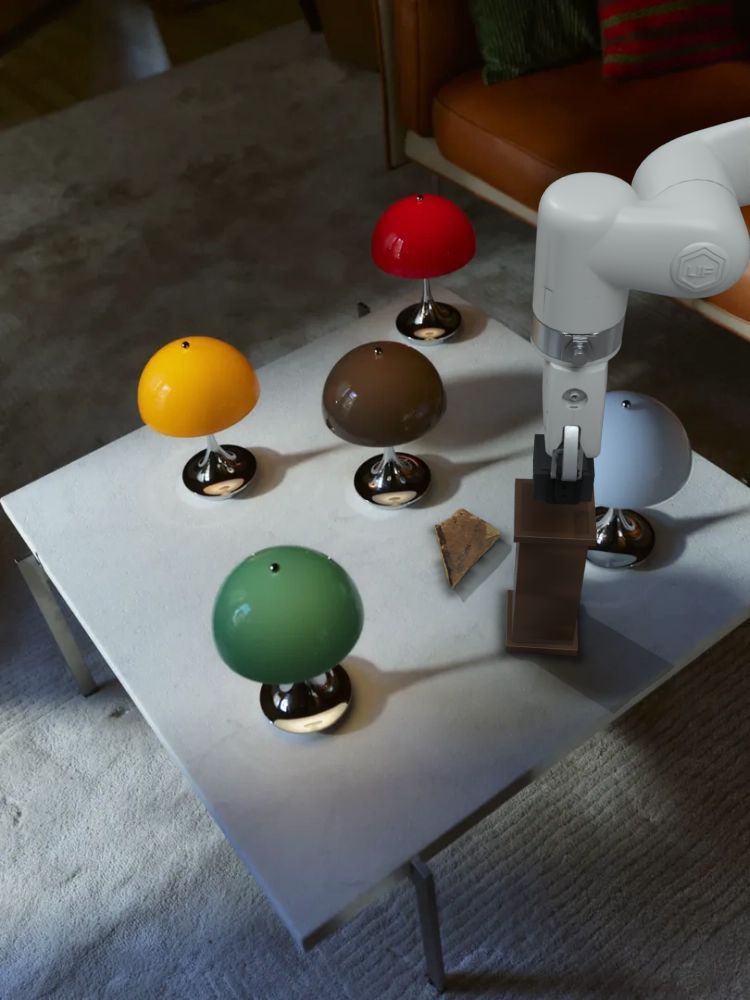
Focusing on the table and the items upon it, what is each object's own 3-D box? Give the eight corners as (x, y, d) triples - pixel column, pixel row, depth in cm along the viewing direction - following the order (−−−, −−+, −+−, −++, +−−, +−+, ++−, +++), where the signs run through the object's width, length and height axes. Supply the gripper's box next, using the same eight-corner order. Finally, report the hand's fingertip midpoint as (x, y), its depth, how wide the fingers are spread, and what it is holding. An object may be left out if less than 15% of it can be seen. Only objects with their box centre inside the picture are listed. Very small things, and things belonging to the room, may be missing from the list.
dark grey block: (589, 461, 93) (592, 434, 91) (591, 502, 90) (595, 474, 87) (532, 460, 94) (534, 432, 91) (532, 500, 90) (534, 473, 88)
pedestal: (575, 599, 112) (593, 481, 97) (577, 656, 106) (597, 540, 92) (506, 595, 112) (515, 477, 98) (505, 651, 107) (513, 536, 93)
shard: (450, 594, 113) (450, 585, 112) (401, 564, 117) (401, 554, 115) (503, 539, 118) (504, 530, 117) (454, 512, 122) (454, 503, 121)
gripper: (630, 393, 72) (605, 547, 85) (617, 267, 84) (597, 419, 97) (530, 392, 73) (521, 544, 86) (531, 267, 85) (523, 418, 98)
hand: (561, 476), depth 92 cm, fingers closed on dark grey block, 5 cm apart
